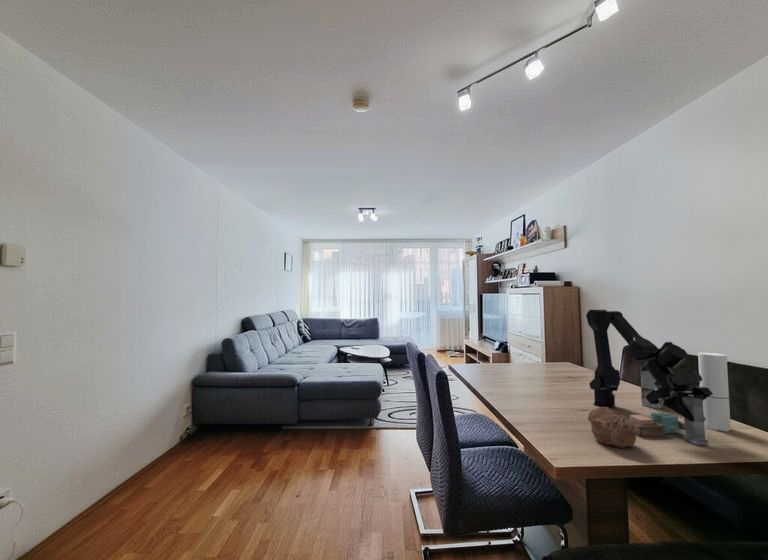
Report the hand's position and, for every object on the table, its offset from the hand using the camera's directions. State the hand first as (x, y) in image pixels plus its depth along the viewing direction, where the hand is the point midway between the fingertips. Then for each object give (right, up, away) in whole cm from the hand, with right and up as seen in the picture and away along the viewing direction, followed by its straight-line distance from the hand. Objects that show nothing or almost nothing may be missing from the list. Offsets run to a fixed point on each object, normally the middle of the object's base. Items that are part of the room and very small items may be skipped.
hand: (698, 421), depth 103 cm
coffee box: (+17, -9, +38) cm, 42 cm away
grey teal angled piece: (-1, -7, +6) cm, 9 cm away
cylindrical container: (+19, -8, +14) cm, 25 cm away
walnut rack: (-6, -7, +10) cm, 14 cm away
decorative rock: (-26, -7, 0) cm, 27 cm away
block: (-10, -8, +10) cm, 16 cm away
